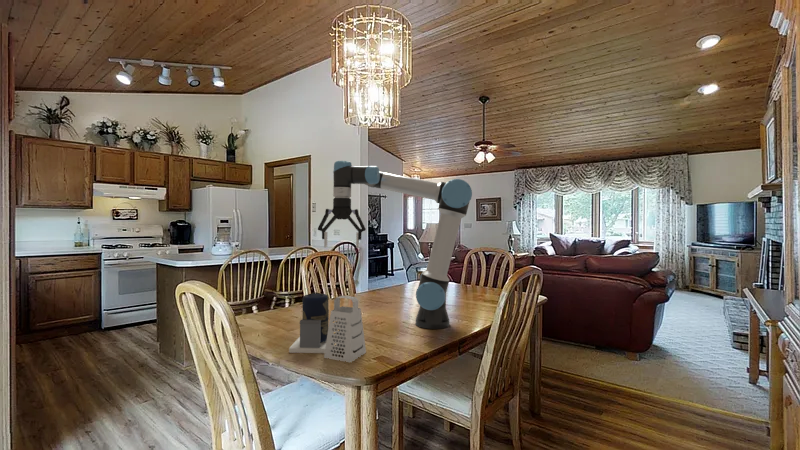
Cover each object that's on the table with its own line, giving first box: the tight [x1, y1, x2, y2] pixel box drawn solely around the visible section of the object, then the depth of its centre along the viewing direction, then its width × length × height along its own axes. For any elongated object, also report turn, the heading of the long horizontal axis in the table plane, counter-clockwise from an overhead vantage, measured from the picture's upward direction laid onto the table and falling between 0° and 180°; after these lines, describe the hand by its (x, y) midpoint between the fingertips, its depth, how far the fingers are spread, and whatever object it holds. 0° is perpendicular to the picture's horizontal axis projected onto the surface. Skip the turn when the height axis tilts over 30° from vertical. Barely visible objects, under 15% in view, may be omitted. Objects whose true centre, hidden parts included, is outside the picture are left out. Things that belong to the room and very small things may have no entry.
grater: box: [323, 295, 367, 363], centre depth 131 cm, size 10×10×20 cm
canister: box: [301, 291, 330, 342], centre depth 141 cm, size 10×10×18 cm
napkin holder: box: [288, 310, 330, 354], centre depth 141 cm, size 14×17×11 cm
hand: (341, 247), depth 162 cm, fingers open, 13 cm apart
